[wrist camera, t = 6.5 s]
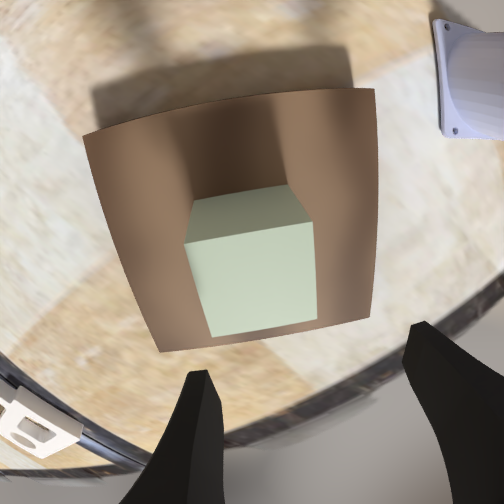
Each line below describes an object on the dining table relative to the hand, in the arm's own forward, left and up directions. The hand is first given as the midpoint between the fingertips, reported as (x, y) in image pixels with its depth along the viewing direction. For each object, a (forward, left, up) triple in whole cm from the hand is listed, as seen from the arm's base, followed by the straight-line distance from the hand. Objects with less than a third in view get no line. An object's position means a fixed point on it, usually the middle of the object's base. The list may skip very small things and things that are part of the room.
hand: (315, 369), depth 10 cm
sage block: (+2, -2, -8) cm, 8 cm away
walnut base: (+1, -1, -10) cm, 10 cm away
